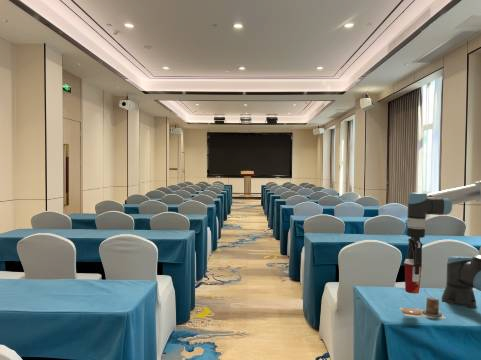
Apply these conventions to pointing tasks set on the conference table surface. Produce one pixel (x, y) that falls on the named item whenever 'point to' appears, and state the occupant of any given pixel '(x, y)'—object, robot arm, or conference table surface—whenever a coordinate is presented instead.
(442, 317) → the board
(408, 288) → the paper cup
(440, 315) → the grey pad
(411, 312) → the terracotta pad
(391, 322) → the conference table surface
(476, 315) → the conference table surface
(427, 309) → the brown short cylinder
